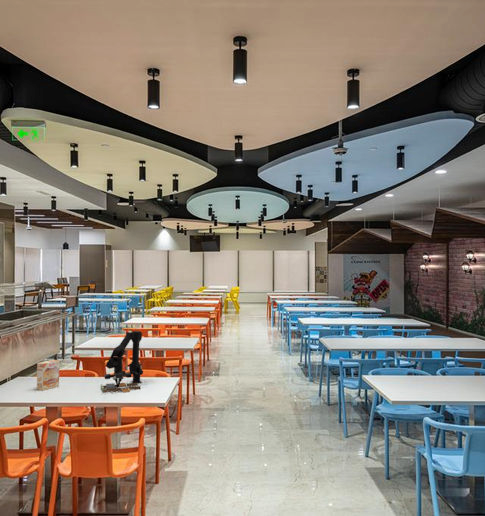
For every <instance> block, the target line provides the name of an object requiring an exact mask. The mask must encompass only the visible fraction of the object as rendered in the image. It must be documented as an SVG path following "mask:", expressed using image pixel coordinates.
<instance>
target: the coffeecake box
mask: <svg viewBox="0 0 485 516" xmlns="http://www.w3.org/2000/svg"><path fill="white" fill-rule="evenodd" d="M36 365H37V366H36V367H37V368H36V390H37V389H38V390H39V391H46V390H51V389H53V388H58V387H60V360H58V359H49V360H45V361H41V362H37V363H36ZM57 386H58V387H57Z"/></svg>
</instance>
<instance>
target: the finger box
mask: <svg viewBox="0 0 485 516" xmlns="http://www.w3.org/2000/svg"><path fill="white" fill-rule="evenodd" d="M126 387H127V388H129V389H130V391H134V390H141V385H139V383H126ZM100 391H101V392H102V394H103V393H110V392H111V393H112V392H122V387H119V388H117V385H116V384H115V388H111V389H106V384H104V385H103V384H100Z"/></svg>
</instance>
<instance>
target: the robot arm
mask: <svg viewBox="0 0 485 516" xmlns="http://www.w3.org/2000/svg"><path fill="white" fill-rule="evenodd" d="M142 339H143V333H142V331H141V330H140V331H139V330H133V331H130V332H129V331H127V332H126V334H125V336H124V337H123V339H122V341H121V342H119V345H117V346H116V347H114V349H113V350H112V353H111V354H110V357H109V358H108V360H107V362H106V365H105V366H106V368H108V369H109V370H110V369H113V374H111V373H105V374H104V379H105V380H110V379H111V378H112V380H114V382H115V385H117V388H120V387H119V385H120V383H122V380H124V377H126V378H127V379H128V378H132V380H131V382H132V383H138V384H139V383H142V381H141V376H142V375H143V374H144V370H143V369H142V365H141V363H140V342H141V341H142ZM130 342H132V357H131V363H129V365H128V370H129V372H126V370H123V360H124V357H123V356H125V355H124V354H125V353H126V348H127V347H128V345H129V343H130Z"/></svg>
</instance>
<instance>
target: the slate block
mask: <svg viewBox="0 0 485 516" xmlns="http://www.w3.org/2000/svg"><path fill="white" fill-rule="evenodd" d="M105 385H106V388H105V389H111V388H115V385H116V382H115V383H114V382H111V383H105Z"/></svg>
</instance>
